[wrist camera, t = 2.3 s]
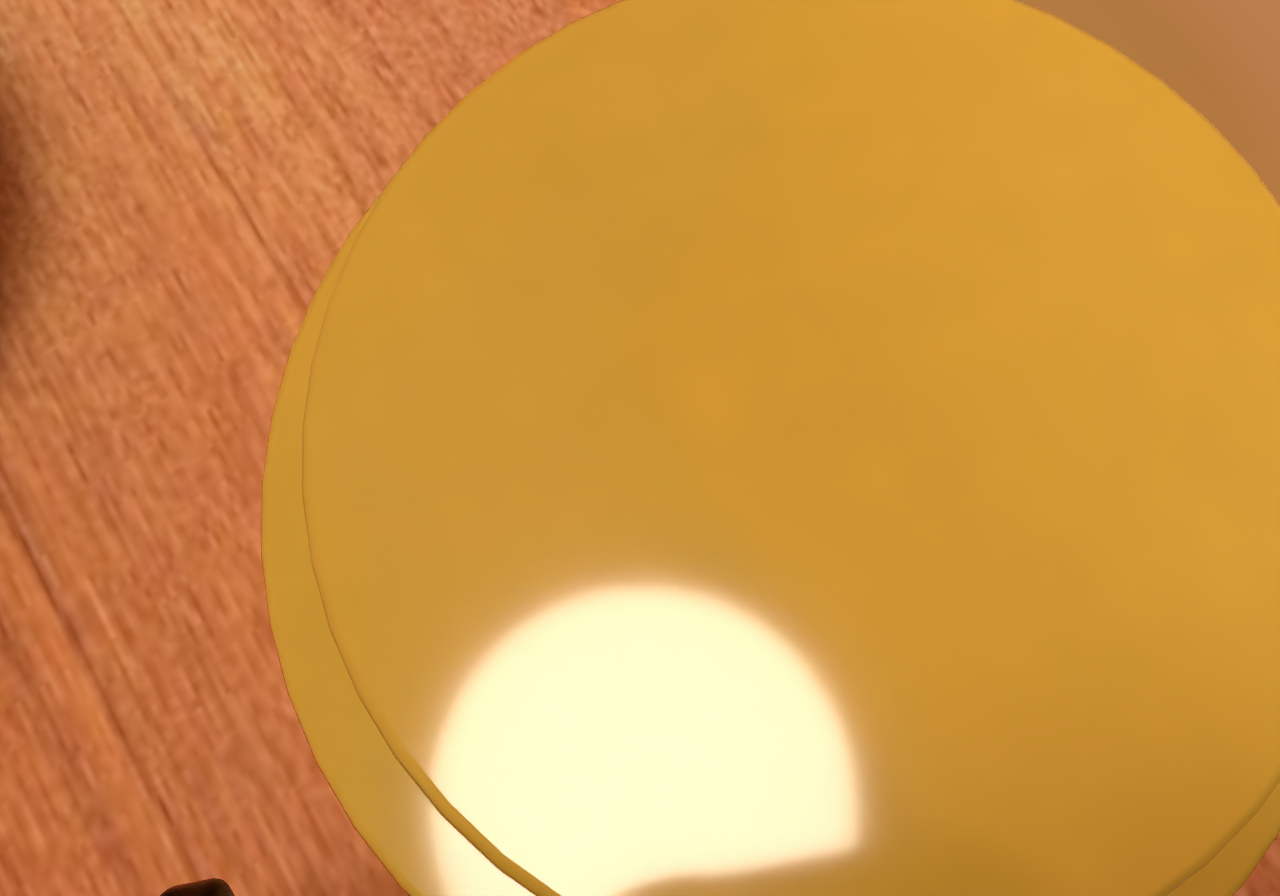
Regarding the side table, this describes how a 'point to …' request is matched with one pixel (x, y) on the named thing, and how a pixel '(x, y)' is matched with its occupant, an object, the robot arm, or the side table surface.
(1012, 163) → the jar
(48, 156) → the side table surface
